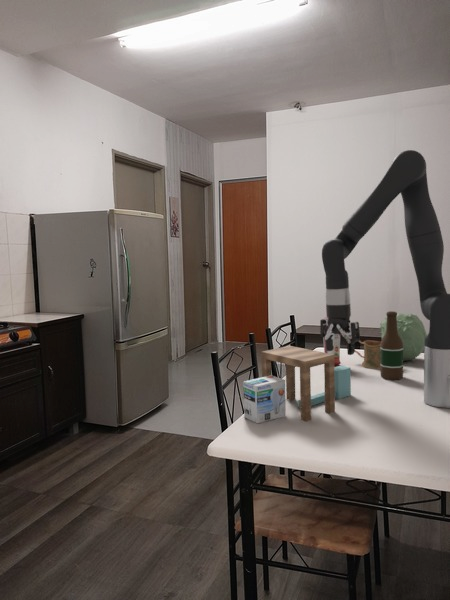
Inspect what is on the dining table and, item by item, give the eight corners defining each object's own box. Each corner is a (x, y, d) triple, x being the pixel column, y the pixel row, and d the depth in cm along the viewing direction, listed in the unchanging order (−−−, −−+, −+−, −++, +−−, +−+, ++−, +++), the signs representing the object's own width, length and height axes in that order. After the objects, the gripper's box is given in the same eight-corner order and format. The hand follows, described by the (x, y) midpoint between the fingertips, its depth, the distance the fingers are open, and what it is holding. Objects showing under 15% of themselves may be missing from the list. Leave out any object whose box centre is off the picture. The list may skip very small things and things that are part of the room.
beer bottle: (379, 379, 168) (379, 313, 165) (381, 374, 175) (381, 310, 172) (402, 381, 165) (403, 313, 162) (403, 375, 172) (403, 310, 170)
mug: (353, 359, 199) (353, 331, 198) (395, 364, 189) (395, 334, 188) (342, 365, 190) (342, 336, 189) (386, 370, 180) (386, 339, 178)
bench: (334, 411, 136) (334, 354, 135) (306, 421, 129) (305, 361, 128) (291, 397, 151) (289, 345, 149) (262, 406, 144) (261, 351, 142)
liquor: (330, 369, 185) (329, 298, 182) (319, 365, 191) (318, 297, 188) (345, 366, 188) (344, 297, 185) (333, 362, 194) (333, 295, 191)
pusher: (340, 392, 155) (340, 365, 154) (350, 395, 152) (350, 367, 151) (295, 406, 142) (295, 377, 141) (305, 409, 139) (304, 380, 138)
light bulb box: (257, 424, 129) (256, 386, 128) (243, 417, 135) (242, 380, 133) (287, 415, 135) (286, 379, 134) (272, 409, 140) (271, 374, 139)
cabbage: (423, 366, 183) (424, 316, 181) (374, 361, 194) (374, 313, 191) (431, 358, 196) (431, 311, 194) (384, 354, 207) (384, 309, 204)
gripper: (313, 302, 152) (315, 351, 154) (348, 305, 141) (350, 358, 142) (329, 300, 157) (331, 347, 158) (364, 302, 145) (366, 353, 147)
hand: (340, 352), depth 150 cm, fingers open, 8 cm apart
